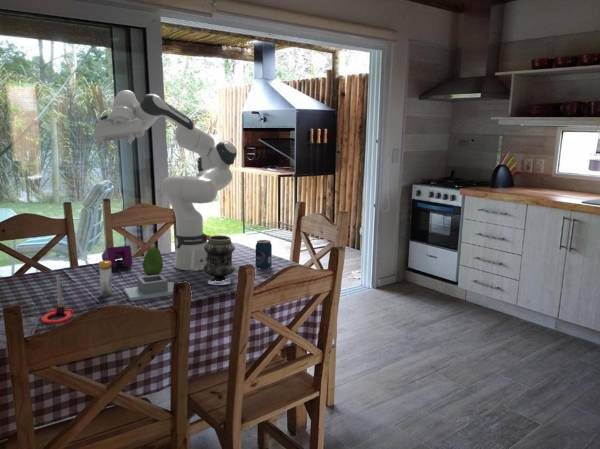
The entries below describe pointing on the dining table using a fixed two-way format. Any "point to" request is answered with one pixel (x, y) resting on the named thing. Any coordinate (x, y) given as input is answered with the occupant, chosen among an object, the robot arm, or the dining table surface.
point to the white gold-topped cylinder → (105, 278)
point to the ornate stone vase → (219, 257)
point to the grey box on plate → (150, 288)
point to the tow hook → (58, 308)
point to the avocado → (153, 262)
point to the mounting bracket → (118, 255)
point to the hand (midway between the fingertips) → (116, 145)
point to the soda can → (263, 254)
